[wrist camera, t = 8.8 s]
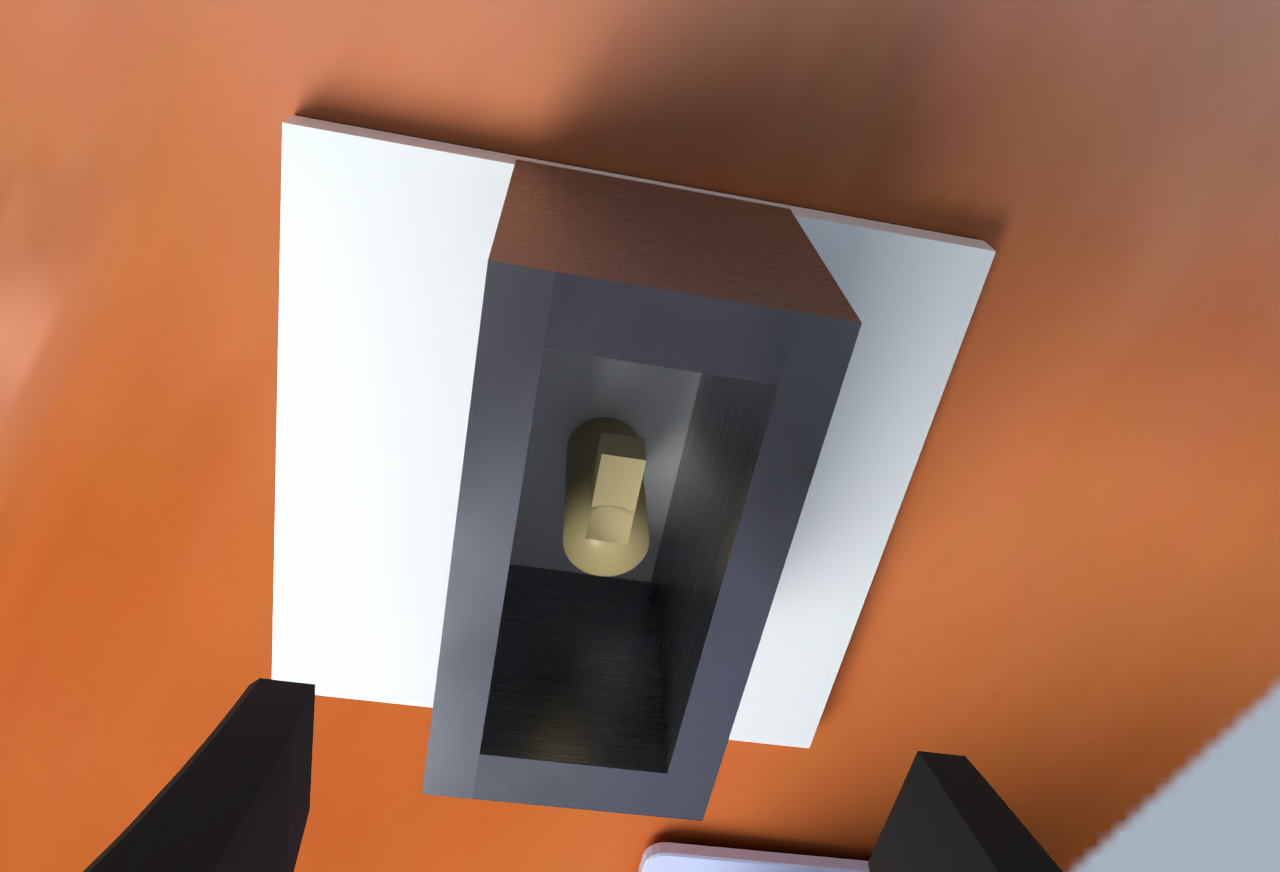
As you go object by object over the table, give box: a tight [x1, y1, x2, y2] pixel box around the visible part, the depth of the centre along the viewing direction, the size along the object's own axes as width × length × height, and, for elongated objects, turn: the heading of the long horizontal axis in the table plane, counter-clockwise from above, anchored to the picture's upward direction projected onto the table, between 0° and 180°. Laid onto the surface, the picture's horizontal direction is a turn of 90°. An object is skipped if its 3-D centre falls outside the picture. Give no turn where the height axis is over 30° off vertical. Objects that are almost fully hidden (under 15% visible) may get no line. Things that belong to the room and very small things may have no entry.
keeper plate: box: [272, 115, 996, 748], centre depth 18 cm, size 12×12×4 cm
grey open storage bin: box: [422, 159, 862, 821], centre depth 16 cm, size 9×5×5 cm, turn 169°
